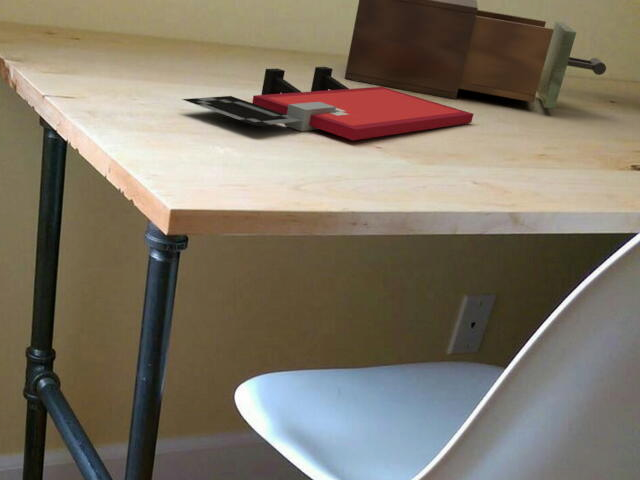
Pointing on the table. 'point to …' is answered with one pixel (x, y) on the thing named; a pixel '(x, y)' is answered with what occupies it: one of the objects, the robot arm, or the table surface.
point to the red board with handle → (336, 108)
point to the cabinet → (412, 44)
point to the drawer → (520, 58)
